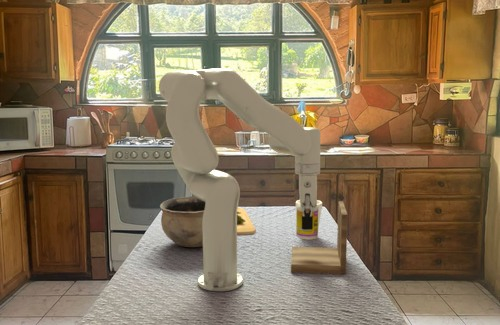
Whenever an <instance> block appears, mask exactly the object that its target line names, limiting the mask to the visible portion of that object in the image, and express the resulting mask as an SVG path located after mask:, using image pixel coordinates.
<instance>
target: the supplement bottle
mask: <svg viewBox="0 0 500 325" xmlns="http://www.w3.org/2000/svg"><path fill="white" fill-rule="evenodd" d="M304 206H305V205H304ZM310 206H311V205H310ZM295 211H296V216H295V217H296V220H295V221H296V222H295V223H296V224H295V225H296V228H295V230H296V231H295V232H296V233H295V235H296V237H297V238H298V239H300V240H309V241H311V239H312V240H315V238H316V239H317V238H318V236H319V229H318V206H317V207H315V206H312V216H313V229H312V230H307V229H302V216H303V207H301V204H298V205H297V208H296V207H295ZM304 214H305V213H304ZM304 216H305V215H304Z"/></svg>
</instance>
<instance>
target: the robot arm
mask: <svg viewBox="0 0 500 325" xmlns="http://www.w3.org/2000/svg"><path fill="white" fill-rule="evenodd" d="M158 90H159V94H160V95H161V97H162V99H164V100H165V101H167V105H166V112H165V121H166V126H167V129H168V131H169V133H170V135H171V137H172V140H173V141H174V143H173V145H172V148H171V151H170V152H171V159H172V162H173V164H174V167H175V169H176V170H177V172H178V174H179V176H180V177H181V179H182V181H183V182H184V183H185V185H186V187H187V189H188V190H189V192H190V193H191V195H192V196H195V197H196V198H198V199H200V200H202V201H204V202H205V209H204V213H203V219H202V230H203V246H202V267H203V268H202V269H203V270H202V271H203V272H202V273H203V274H202V275H200V276H198V279H197V284H198V287H199V288H201V289H203V290H205V291H209V292H227V291H232V290H236V289H238V288H239V287H241V286H242V285H243V283H244V282H243V281H244V278H243V276H242V275H241V274H239V273H238V235H237V209H238V208H239V203H240V201H239V200H240V194H241V189H240V186H239V183H238V181H237V179H236V178H235V177H234V176H233V175H231V174H229V173H228V172H224V171H221V170H218V169H216V168H217V167H218V165H219V161H220V160H219V153H218V150H217V149H216V146H215V145H214V143H213V141H212V140H211V138H210V136H209V134H208V131H206V128H205V127H204V123H203V122H202V119H201V117H200V106H201V103H202V101H206V100H217V101H219V102H220V103H222V104H223V105H224V106H225V107H226V108H227V109H228V110H230V111H231V112H232V113H233V115H235V116H236V117H238V118H239V119H240V120H241V121H242V122H243V123H245V124H246V125H248V126H249V127H252V128H253V129H256V130H259V131H262V132H263V133H267V134H268V135H269V136H268V137H267V138H268V139H267V140H268V141H267V142H268V145H269V147H270V149H271V150H272V151H274V152H277V153H278V154H284V155H287V156H288V155H289V156H293V157H294V158H295V159H294V173H295V175H298V191H299V192H298V193H299V194H298V195H299V200H300V204H301V207H303V216H302V229H307V230H312V229H313V216H312V206H315V207H317V200H318V199H317V198H318V177H317V175H320V174H321V129H319V128H318V127H315V126H314V127H313V126H310V127H309V126H305V127H304V126H302V125H301V124H300V123H299V122H298V121H297V120H295V118H293V117H292V116H291V115H289V114H288V113H286V111H283V110H281V109H280V108H278V107H277V106H276V105H274V104H272V103H271V102H269V101H267V100H266V99H265V98H264V97H263V96H262V95H261V94H259V93H258V92H257V90H255V89H254V88H253V87H252V85H250V84H249V83H248V82H247V81H246V80H245V79H244V78H243V77H241V75H239V74H238V72H236V71H235V70H233V69H230V68H228V67H227V68H226V67H222V68H208V69H197V70H196V69H194V70H174V71H172V70H171V71H169V72H166V73H165V74H164V75H163V76H161V78H160V80H159V82H158ZM304 205H305V206H304ZM310 205H311V206H310ZM304 213H305V214H304ZM304 215H305V216H304Z"/></svg>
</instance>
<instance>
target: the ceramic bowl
mask: <svg viewBox="0 0 500 325" xmlns="http://www.w3.org/2000/svg"><path fill="white" fill-rule="evenodd" d="M159 207H160V210H161V212H162V214H161V220H160V222H161V229H162V230H163V233H164V234H165V235H166V237H167V238H168V239H169V240H171V241H172V242H173V243H174V244H176V245H178V246H181V247H185V248H200V247H201V248H203V230H202V219H203V213H204V209H205V202H204V201H202V200H200V199H198V198H196V197H195V196H194V195H191V196H181V197H175V198H169V199H168V200H165V201H162V203H160V205H159Z"/></svg>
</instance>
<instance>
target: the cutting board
mask: <svg viewBox="0 0 500 325" xmlns="http://www.w3.org/2000/svg"><path fill="white" fill-rule="evenodd" d="M256 230H257V229H256V228H255V225H254V224H253V222H252V220H251V219H250V217H249V215H248V213H247V211H246V209H244V208H242V207H240V208H239V207H238V209H237V236H243V235H253V234H255V233H256Z"/></svg>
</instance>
